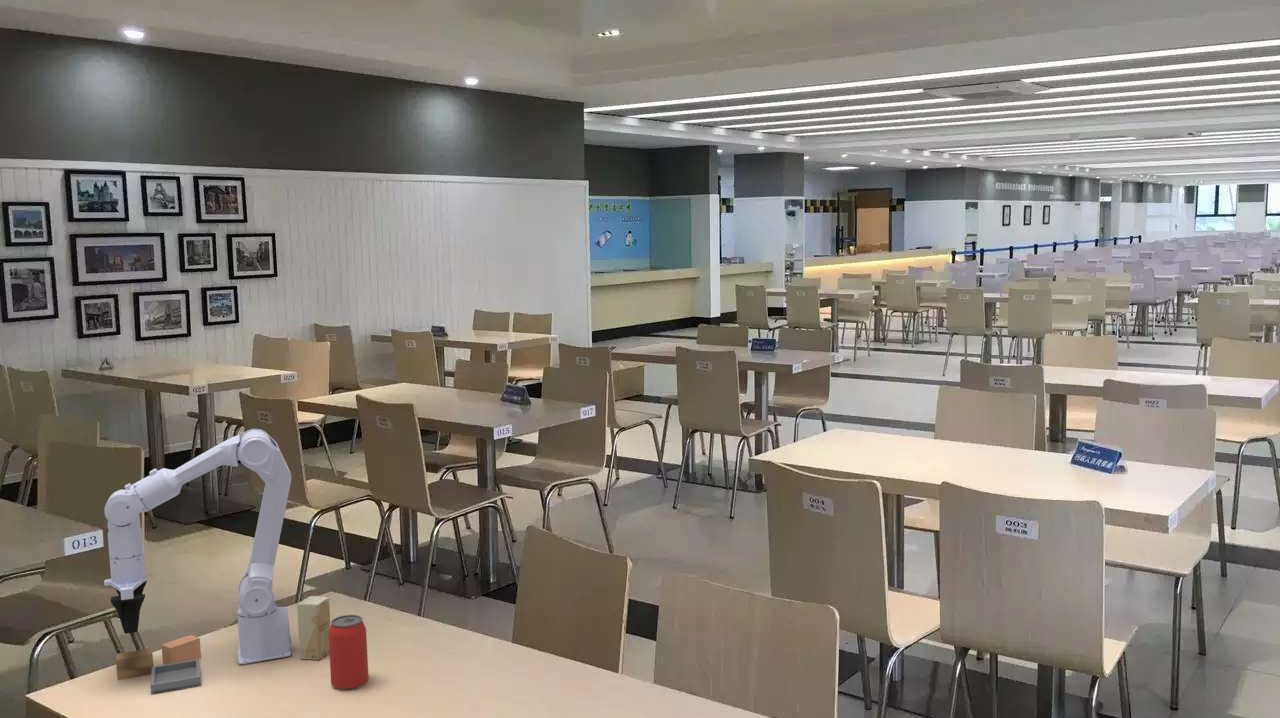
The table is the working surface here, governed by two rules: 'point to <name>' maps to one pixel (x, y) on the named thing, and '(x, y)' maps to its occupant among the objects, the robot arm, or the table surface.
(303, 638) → the box
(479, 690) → the table surface
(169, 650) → the terracotta brick
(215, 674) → the table surface
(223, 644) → the table surface
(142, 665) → the walnut brick
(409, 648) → the table surface
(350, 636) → the beer can
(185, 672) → the tray
